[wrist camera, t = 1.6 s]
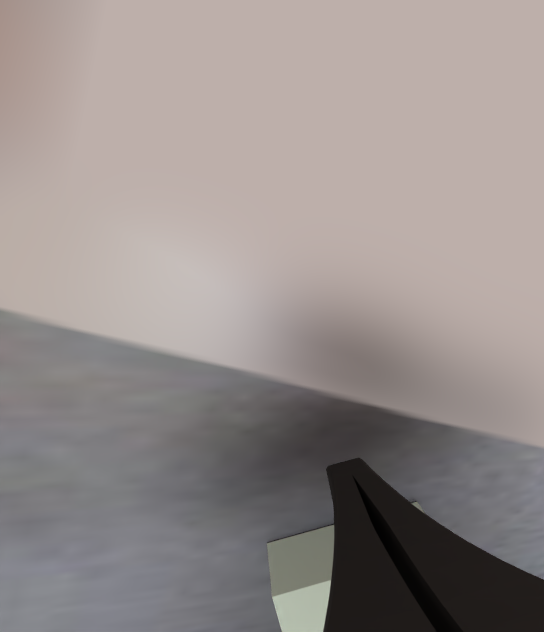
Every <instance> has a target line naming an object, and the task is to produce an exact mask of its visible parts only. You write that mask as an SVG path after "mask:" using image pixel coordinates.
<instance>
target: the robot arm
mask: <svg viewBox="0 0 544 632" xmlns="http://www.w3.org/2000/svg"><path fill="white" fill-rule="evenodd" d="M326 471H327V475H328V480H329V485H330V490H331V495H332V500H333V507H334V553H333V567H332V576H331V586H330V593H329V600H328V606H327V612H326V618H325V624H324V629H323V632H544V580H543V579H541V578H539V577H536V576H534V575H532V574H529V573H527V572H525V571H523V570H521V569H519V568H517V567H515V566H513V565H511V564H508V563H506V562H504V561H502V560H500V559H498V558H497V557H495V556H493V555H491V554H489V553H487V552H486V551H484V550H482V549H480V548H478V547H476V546H475V545H473V544H471V543H469V542H468V541H466V540H464V539H463V538H461V537H459V536H458V535H456V534H455V533H453V532H451V531H450V530H448V529H447V528H445V527H444V526H442V525H441V524H439V523H438V522H436V521H435V520H433V519H432V518H430V517H429V516H428V515H426V514H425V513H423V512H422V511H421V510H419V509H418V508H417V507H415V506H414V505H413V504H412V503H410V502H409V501H408V500H406V499H405V498H404V497H403V496H402V495H400V494H399V493H398V492H397V491H396V490H394V489H393V488H392V487H391V486H390V485H388V484H387V483H386V482H385V481H384V480H383V479H382V478H381V477H380V476H378V475H377V474H376V473H375V472H374V471H373V470H372V469H371V468H370V467H369V466H368V465H367V464H366V463H365V462H364V461H363V460H362V459H360V458H356V459H352V460H348V461H345V462H341V463H337V464H333V465H330V466H328V467H327V469H326Z"/></svg>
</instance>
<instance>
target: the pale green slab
mask: <svg viewBox="0 0 544 632" xmlns="http://www.w3.org/2000/svg"><path fill="white" fill-rule="evenodd" d="M412 504H413V505H414V506H415V507H417V508H418V509H419V510H421V511H422V512H423V513H424V511H423V510H422V508H421V507H420V505H419V504H418V503H417V502H414V503H412ZM267 550H268V560H269V570H270V581H271V591H272V598H273V602H274V605H275V609H276V612H277V616H278V619H279V623H280V626H281V630H282V632H323V629H324V624H325V618H326V612H327V606H328V600H329V593H330V586H331V576H332V567H333V553H334V525H331V526H327V527H324V528H320V529H316V530H313V531H309V532H306V533H302V534H298V535H295V536H291V537H288V538H284V539H280V540H277V541H273V542H270V543H267Z"/></svg>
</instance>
